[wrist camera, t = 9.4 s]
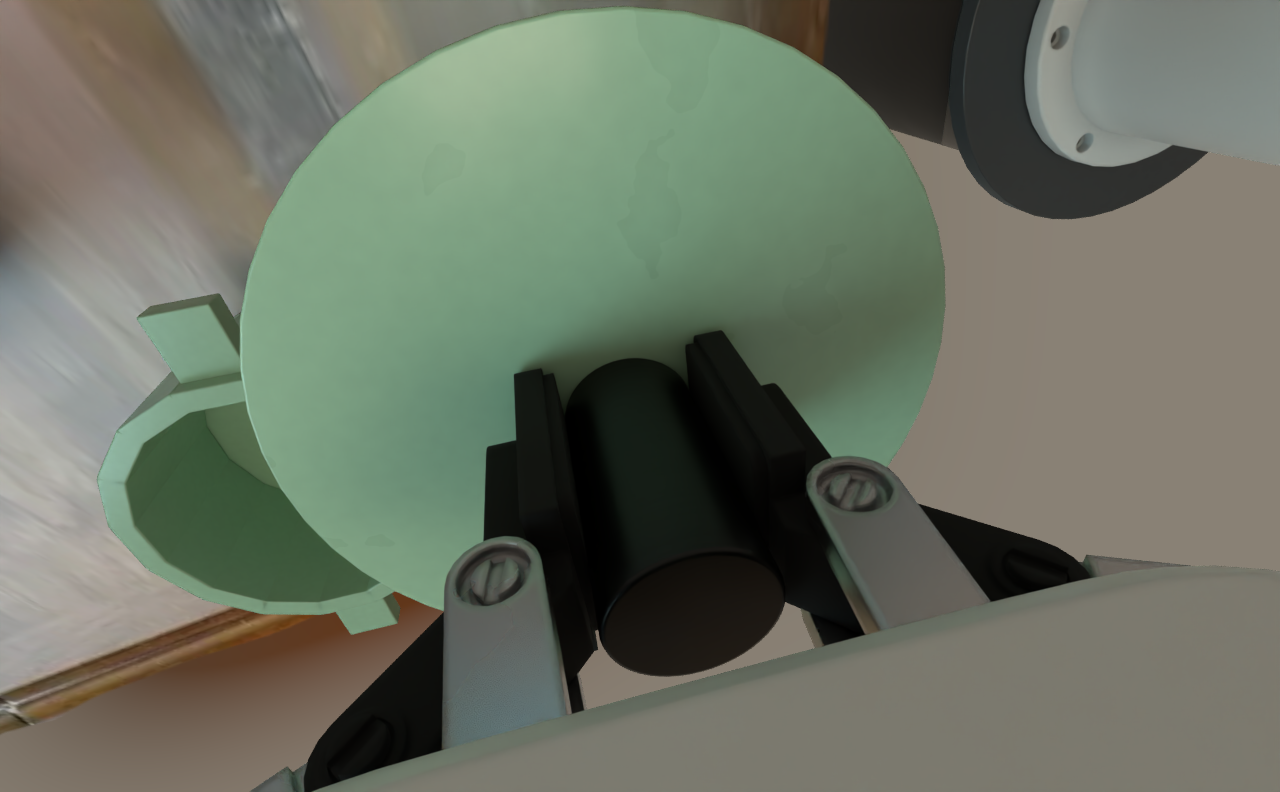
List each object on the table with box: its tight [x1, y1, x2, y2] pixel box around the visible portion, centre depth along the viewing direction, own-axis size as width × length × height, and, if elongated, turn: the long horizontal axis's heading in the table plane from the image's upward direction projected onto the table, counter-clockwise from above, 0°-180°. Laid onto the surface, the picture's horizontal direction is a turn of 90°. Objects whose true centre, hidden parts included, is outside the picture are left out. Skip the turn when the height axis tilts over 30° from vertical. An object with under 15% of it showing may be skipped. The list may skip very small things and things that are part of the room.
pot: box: [97, 294, 400, 634], centre depth 28 cm, size 13×18×8 cm
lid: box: [240, 6, 945, 677], centre depth 10 cm, size 14×14×6 cm
